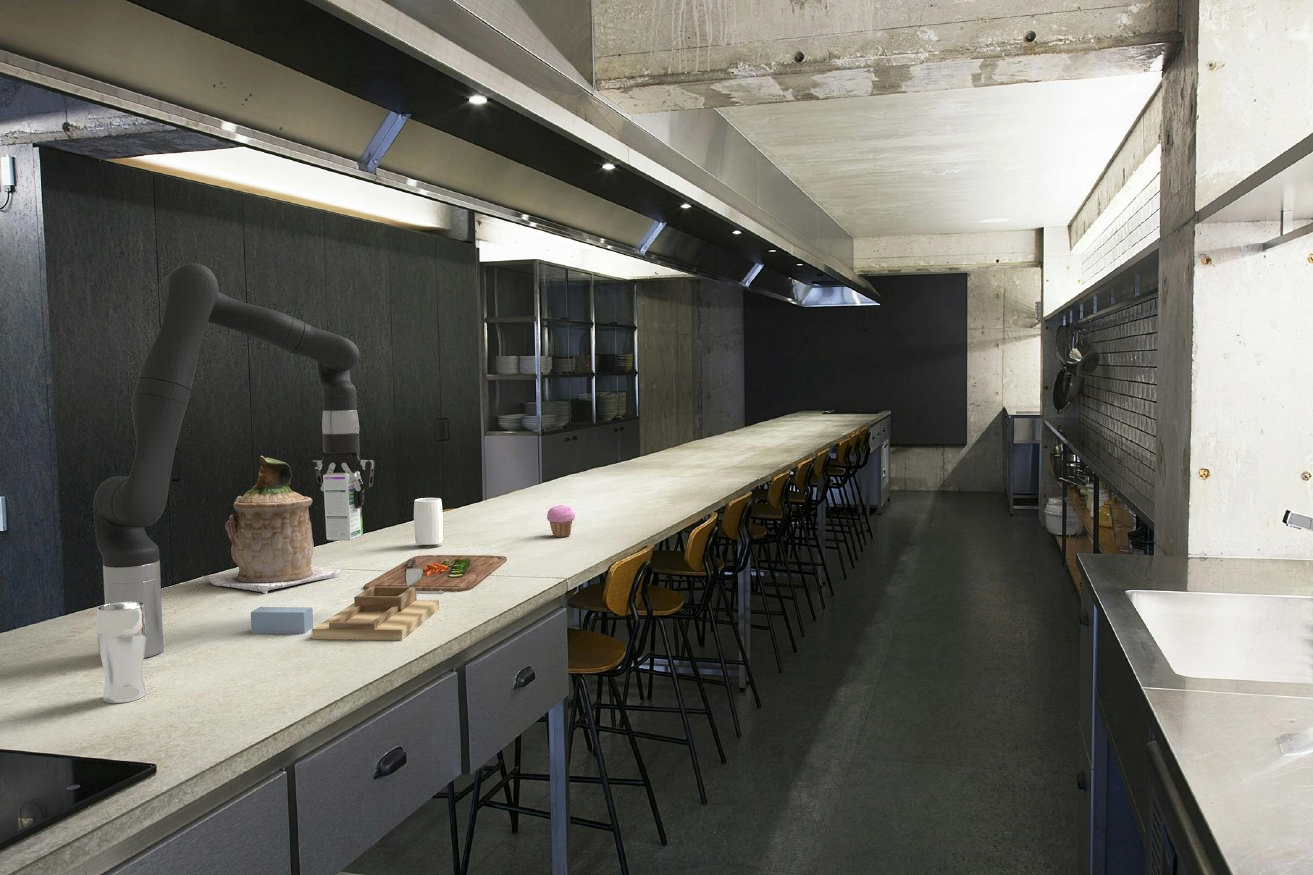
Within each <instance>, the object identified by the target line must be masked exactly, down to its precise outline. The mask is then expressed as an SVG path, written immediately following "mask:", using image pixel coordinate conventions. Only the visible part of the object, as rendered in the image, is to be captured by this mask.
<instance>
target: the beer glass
mask: <svg viewBox="0 0 1313 875" xmlns="http://www.w3.org/2000/svg"><path fill="white" fill-rule="evenodd" d="M95 628H96V644H97V648H98V653H99V656H100V661H101V664H102V669H103V672H104V691H103V697H102V701H103V702H104V703H107V704H125V703H129V702H130V703H131V702H134V701H138V700H140V699H142V698H145V696H146V694H147V689H146V686H145V682H144V681H145V680H144V676H143V666H144V659H145V658H144V653H145V646H146V619H145V612H144V603H143V602H139V601H123V602H115V603H109V604H105V603H104V604H103V605H100V606H97V608H96V626H95Z"/></svg>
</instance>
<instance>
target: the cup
mask: <svg viewBox="0 0 1313 875" xmlns="http://www.w3.org/2000/svg"><path fill="white" fill-rule="evenodd" d="M413 502H414V504H413V527H414V528H413V529H414V540H415V544H416V545H437V544H441V543H443V534H444V521H443V520H444V517H443V516H444V515H443V514H444V513H443V502H442V499H441V498H440V497H424V498H423V497H421V498H417V499H414V500H413Z"/></svg>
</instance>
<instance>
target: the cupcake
mask: <svg viewBox="0 0 1313 875" xmlns="http://www.w3.org/2000/svg"><path fill="white" fill-rule="evenodd" d="M575 518H576V513H575V512H574V511H573V510H572V507H571V506H568V505H562V504H560V505H556V506H552V507H550V508H549V510H548V511H547V514H546V519H547V521H548V522H549V525H550V529H551V532H552V535H553V536H555V537H557V538H562V537H569V536H571V532H572V524H573V521H574V520H575Z"/></svg>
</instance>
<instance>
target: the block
mask: <svg viewBox="0 0 1313 875" xmlns="http://www.w3.org/2000/svg"><path fill="white" fill-rule="evenodd" d="M313 617H314V614H313V607H312V606H311V607H310V606H309V607H307V606H306V607H304V606H303V607H299V606H283V607H282V606H260V607H258V608H256V609H254V610H252V611H250V626H251V628H250V629H251V631H250V632H251V634H306V633H308V632H309V631H312V629H313V628H314V618H313Z"/></svg>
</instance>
